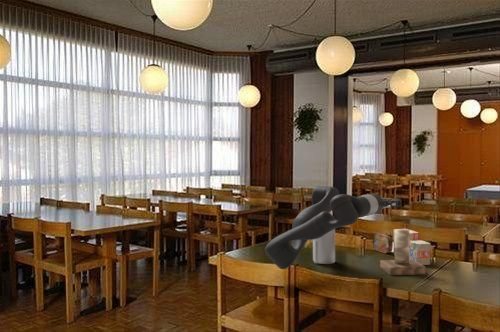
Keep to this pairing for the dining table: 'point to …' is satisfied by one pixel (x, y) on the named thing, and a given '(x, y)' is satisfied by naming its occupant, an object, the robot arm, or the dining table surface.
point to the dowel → (401, 246)
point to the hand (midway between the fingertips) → (389, 200)
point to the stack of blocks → (417, 248)
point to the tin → (382, 243)
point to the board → (402, 268)
